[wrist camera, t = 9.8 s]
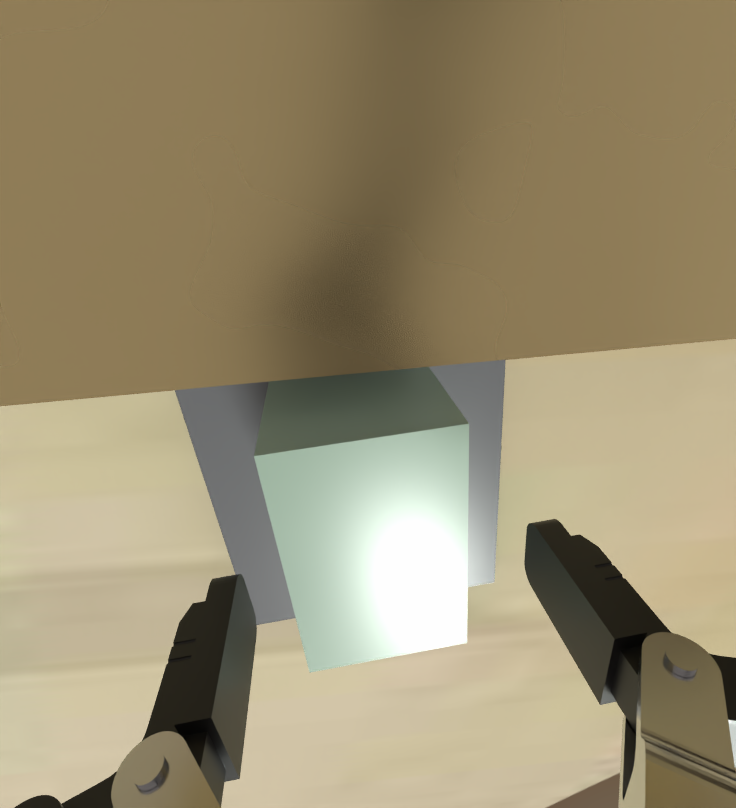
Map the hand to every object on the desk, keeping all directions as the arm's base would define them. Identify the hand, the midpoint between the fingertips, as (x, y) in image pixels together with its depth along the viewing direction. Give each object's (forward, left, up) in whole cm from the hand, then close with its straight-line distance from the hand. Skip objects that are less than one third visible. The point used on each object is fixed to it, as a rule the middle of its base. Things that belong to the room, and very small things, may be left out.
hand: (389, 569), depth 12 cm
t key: (-9, 0, -1) cm, 9 cm away
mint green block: (0, 0, -6) cm, 6 cm away
